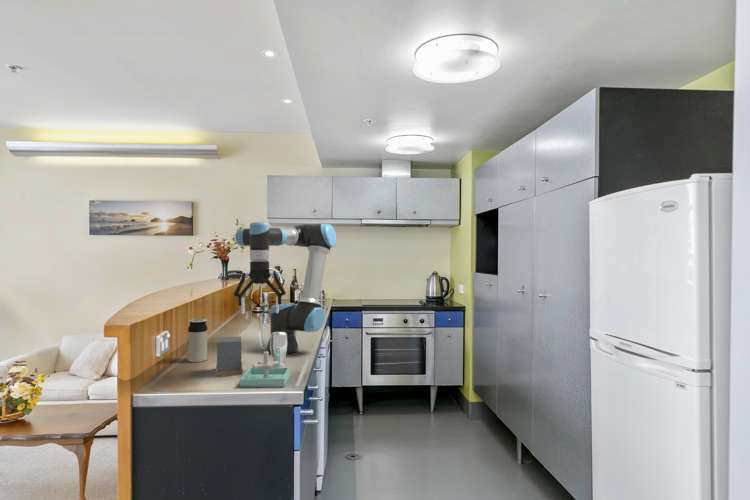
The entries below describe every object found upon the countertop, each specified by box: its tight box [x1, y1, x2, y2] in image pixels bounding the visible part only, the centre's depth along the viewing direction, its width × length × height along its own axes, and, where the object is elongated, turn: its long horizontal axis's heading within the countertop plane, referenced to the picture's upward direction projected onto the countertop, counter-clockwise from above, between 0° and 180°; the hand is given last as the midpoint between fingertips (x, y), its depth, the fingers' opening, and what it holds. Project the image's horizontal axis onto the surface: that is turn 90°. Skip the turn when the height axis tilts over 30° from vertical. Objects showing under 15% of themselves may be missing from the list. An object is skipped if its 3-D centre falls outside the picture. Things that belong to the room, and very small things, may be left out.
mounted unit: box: [214, 336, 244, 378], centre depth 177 cm, size 13×10×13 cm
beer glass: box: [269, 332, 287, 368], centre depth 180 cm, size 7×7×15 cm
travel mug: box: [187, 318, 208, 363], centre depth 195 cm, size 8×8×18 cm
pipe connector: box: [252, 351, 279, 378], centre depth 164 cm, size 10×10×10 cm
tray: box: [239, 367, 291, 389], centre depth 164 cm, size 16×16×3 cm
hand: (260, 313), depth 177 cm, fingers open, 13 cm apart
